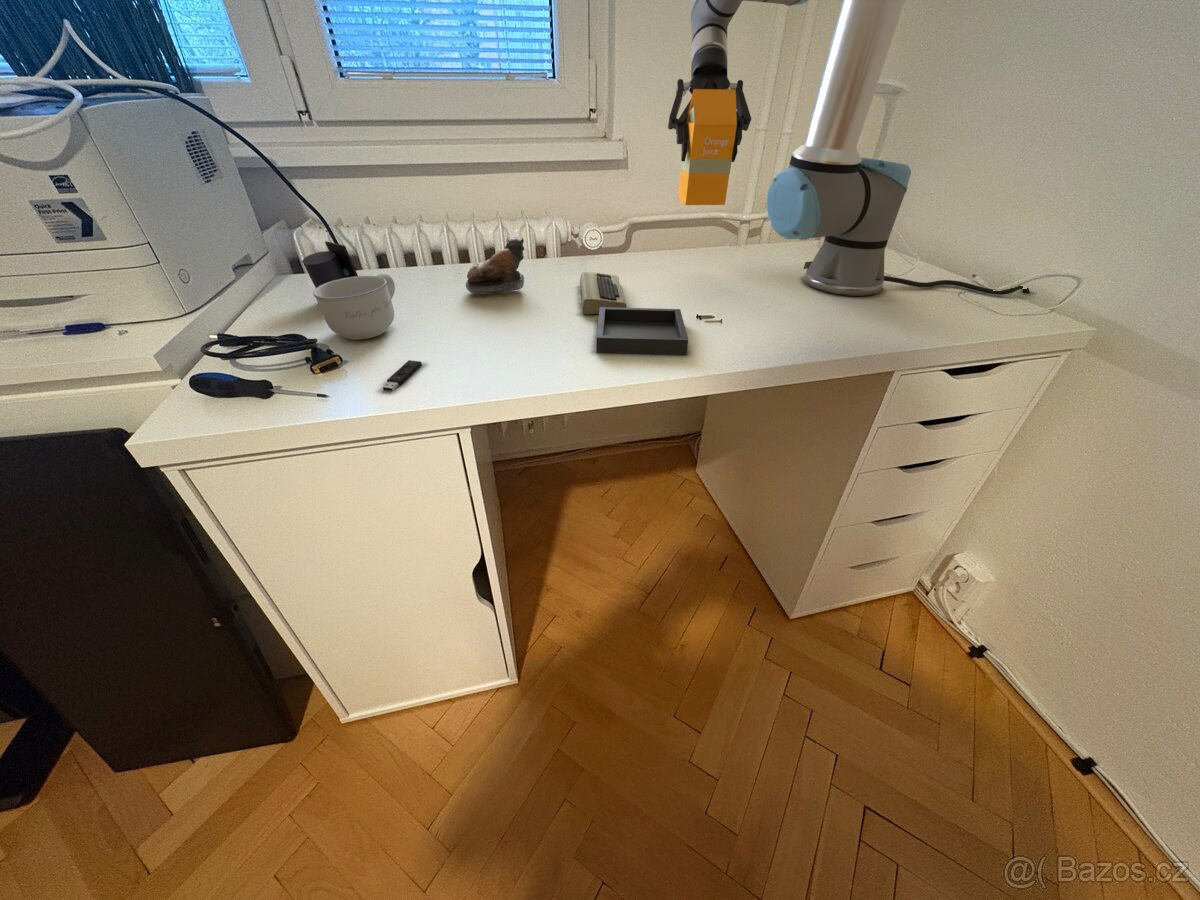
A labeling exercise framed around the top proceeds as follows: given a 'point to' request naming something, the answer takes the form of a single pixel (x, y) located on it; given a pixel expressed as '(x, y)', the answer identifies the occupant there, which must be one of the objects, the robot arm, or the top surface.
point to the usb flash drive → (402, 375)
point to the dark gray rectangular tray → (641, 331)
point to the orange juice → (708, 147)
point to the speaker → (329, 264)
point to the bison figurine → (498, 271)
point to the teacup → (357, 305)
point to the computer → (600, 292)
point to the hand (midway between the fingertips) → (709, 156)
